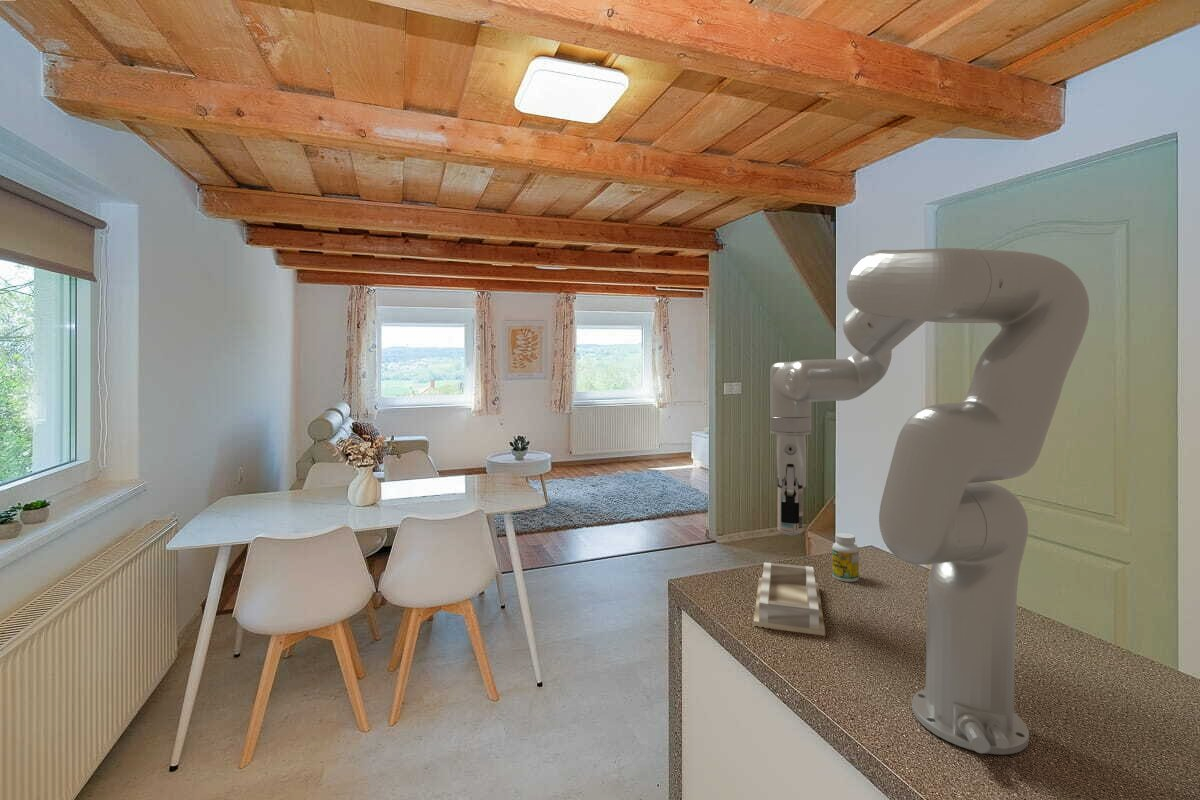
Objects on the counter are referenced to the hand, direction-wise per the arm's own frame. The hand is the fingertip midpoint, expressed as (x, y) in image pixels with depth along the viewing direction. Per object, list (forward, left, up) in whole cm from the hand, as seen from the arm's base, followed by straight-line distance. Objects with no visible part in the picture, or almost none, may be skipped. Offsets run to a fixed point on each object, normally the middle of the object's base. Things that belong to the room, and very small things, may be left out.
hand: (790, 518), depth 107 cm
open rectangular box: (0, 0, -17) cm, 17 cm away
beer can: (0, 0, -3) cm, 3 cm away
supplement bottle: (+19, -12, -18) cm, 29 cm away
